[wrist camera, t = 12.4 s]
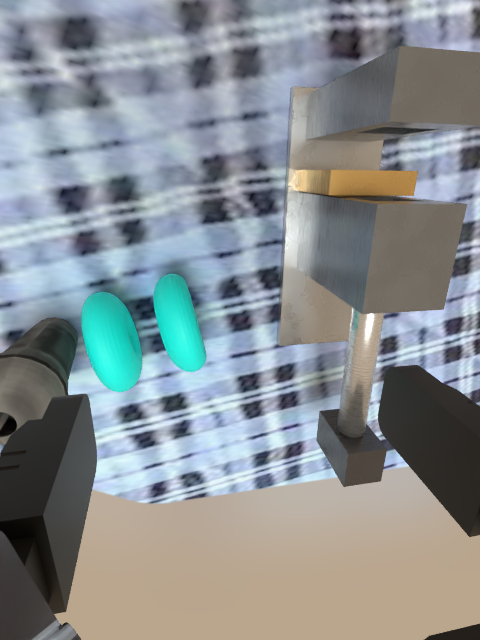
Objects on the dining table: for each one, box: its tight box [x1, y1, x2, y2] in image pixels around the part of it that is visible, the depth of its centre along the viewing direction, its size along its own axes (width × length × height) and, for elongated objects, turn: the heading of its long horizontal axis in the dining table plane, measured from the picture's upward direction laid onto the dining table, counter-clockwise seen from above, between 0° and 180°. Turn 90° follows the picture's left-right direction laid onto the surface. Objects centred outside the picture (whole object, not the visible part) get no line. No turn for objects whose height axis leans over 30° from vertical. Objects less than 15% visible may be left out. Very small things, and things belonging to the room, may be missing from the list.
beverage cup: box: [0, 318, 78, 444], centre depth 32 cm, size 7×7×20 cm
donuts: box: [81, 274, 206, 392], centre depth 37 cm, size 10×10×10 cm
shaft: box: [317, 308, 387, 487], centre depth 36 cm, size 26×4×7 cm, turn 179°
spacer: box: [297, 170, 418, 196], centre depth 36 cm, size 2×8×8 cm, turn 89°
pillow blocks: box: [277, 46, 480, 346], centre depth 35 cm, size 27×10×16 cm, turn 179°
